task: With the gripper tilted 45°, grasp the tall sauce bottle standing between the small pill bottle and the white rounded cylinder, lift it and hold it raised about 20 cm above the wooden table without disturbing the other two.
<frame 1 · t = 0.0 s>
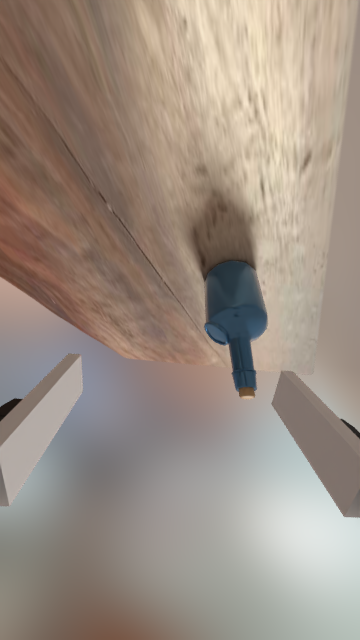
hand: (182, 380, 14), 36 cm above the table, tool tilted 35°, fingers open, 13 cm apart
wine bottle: (229, 278, 54), on the table
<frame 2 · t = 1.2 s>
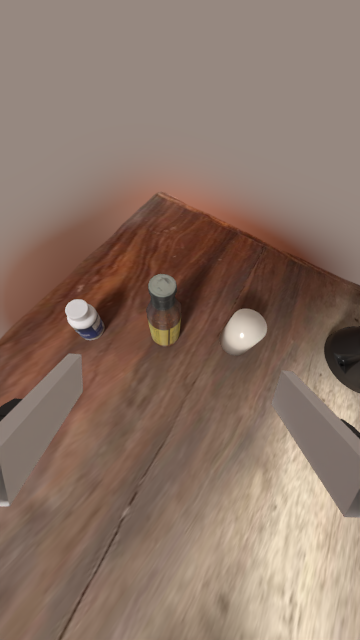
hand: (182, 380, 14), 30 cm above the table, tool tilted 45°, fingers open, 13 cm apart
sauce bottle: (164, 335, 48), on the table
white rounded cylinder: (234, 340, 48), on the table
pill bottle: (92, 329, 47), on the table
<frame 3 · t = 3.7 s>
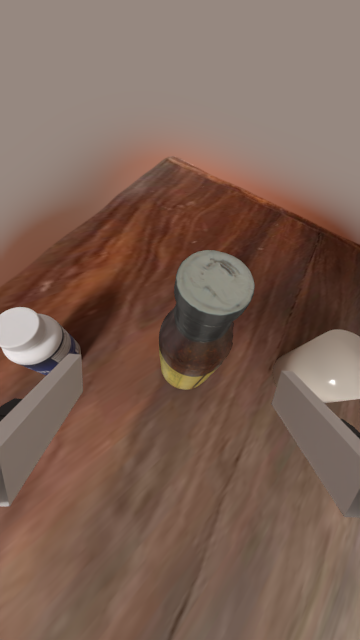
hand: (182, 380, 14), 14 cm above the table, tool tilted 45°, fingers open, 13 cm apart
sauce bottle: (182, 368, 28), on the table
white rounded cylinder: (297, 378, 29), on the table
pill bottle: (60, 357, 27), on the table
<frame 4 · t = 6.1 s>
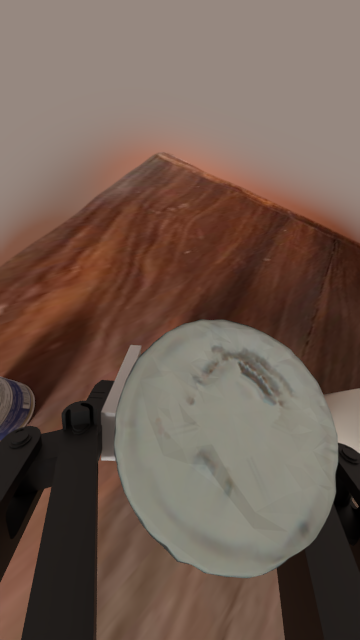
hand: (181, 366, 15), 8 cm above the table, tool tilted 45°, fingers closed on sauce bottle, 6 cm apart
sauce bottle: (170, 421, 22), on the table, touching gripper
white rounded cylinder: (320, 431, 22), on the table
pill bottle: (7, 410, 21), on the table
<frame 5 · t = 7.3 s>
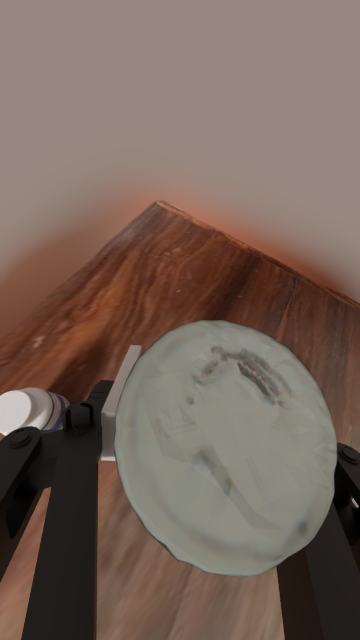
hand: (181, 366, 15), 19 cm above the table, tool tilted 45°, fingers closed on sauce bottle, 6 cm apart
sauce bottle: (170, 421, 22), point 11 cm above the table, touching gripper
pill bottle: (51, 414, 30), on the table
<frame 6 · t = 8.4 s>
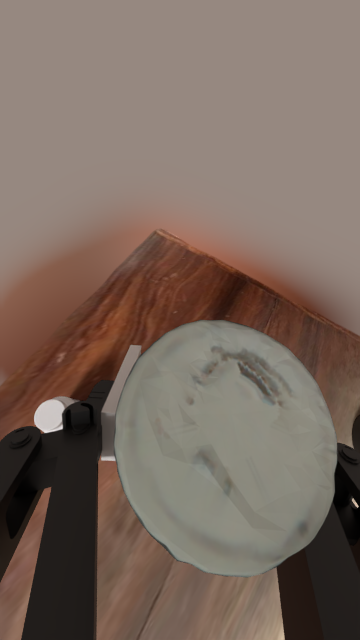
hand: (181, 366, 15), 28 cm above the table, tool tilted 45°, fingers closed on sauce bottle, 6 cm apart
sauce bottle: (171, 421, 22), point 19 cm above the table, touching gripper
pill bottle: (74, 416, 38), on the table
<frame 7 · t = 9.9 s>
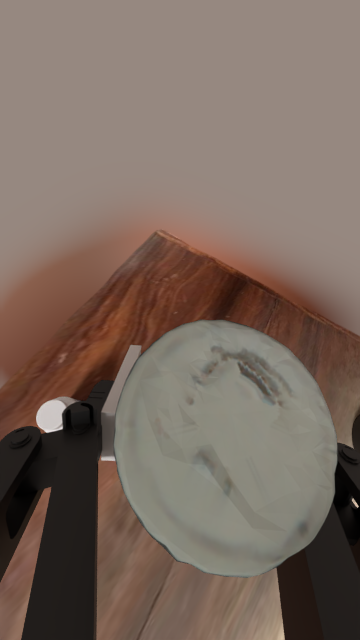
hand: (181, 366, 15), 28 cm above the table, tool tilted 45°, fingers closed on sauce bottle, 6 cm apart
sauce bottle: (171, 421, 22), point 20 cm above the table, touching gripper
pill bottle: (75, 416, 38), on the table
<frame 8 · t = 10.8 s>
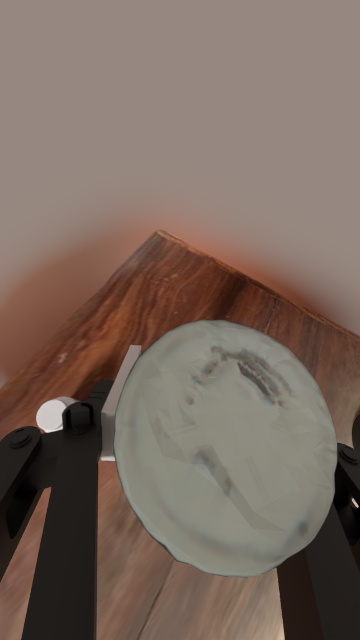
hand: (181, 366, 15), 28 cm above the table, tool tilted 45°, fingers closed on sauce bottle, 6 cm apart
sauce bottle: (171, 421, 22), point 20 cm above the table, touching gripper
pill bottle: (75, 416, 38), on the table
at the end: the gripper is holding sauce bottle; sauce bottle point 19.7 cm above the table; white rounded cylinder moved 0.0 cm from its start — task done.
